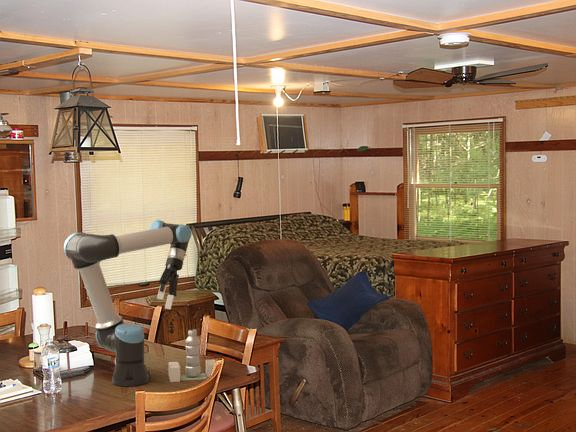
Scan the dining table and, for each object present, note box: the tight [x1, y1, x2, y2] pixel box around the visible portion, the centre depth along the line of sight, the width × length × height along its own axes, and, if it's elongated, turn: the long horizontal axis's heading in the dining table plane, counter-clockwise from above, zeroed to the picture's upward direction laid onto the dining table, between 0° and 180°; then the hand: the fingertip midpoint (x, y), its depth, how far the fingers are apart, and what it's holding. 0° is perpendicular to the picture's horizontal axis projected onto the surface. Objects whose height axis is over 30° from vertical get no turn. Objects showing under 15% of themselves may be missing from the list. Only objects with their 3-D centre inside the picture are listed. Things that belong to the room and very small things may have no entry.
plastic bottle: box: [184, 328, 202, 377], centre depth 329 cm, size 6×7×20 cm
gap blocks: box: [167, 358, 216, 383], centre depth 329 cm, size 10×20×6 cm, turn 104°
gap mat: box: [180, 372, 208, 382], centre depth 329 cm, size 8×11×1 cm
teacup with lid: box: [32, 343, 45, 370], centre depth 341 cm, size 12×9×12 cm
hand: (163, 304), depth 340 cm, fingers open, 13 cm apart
